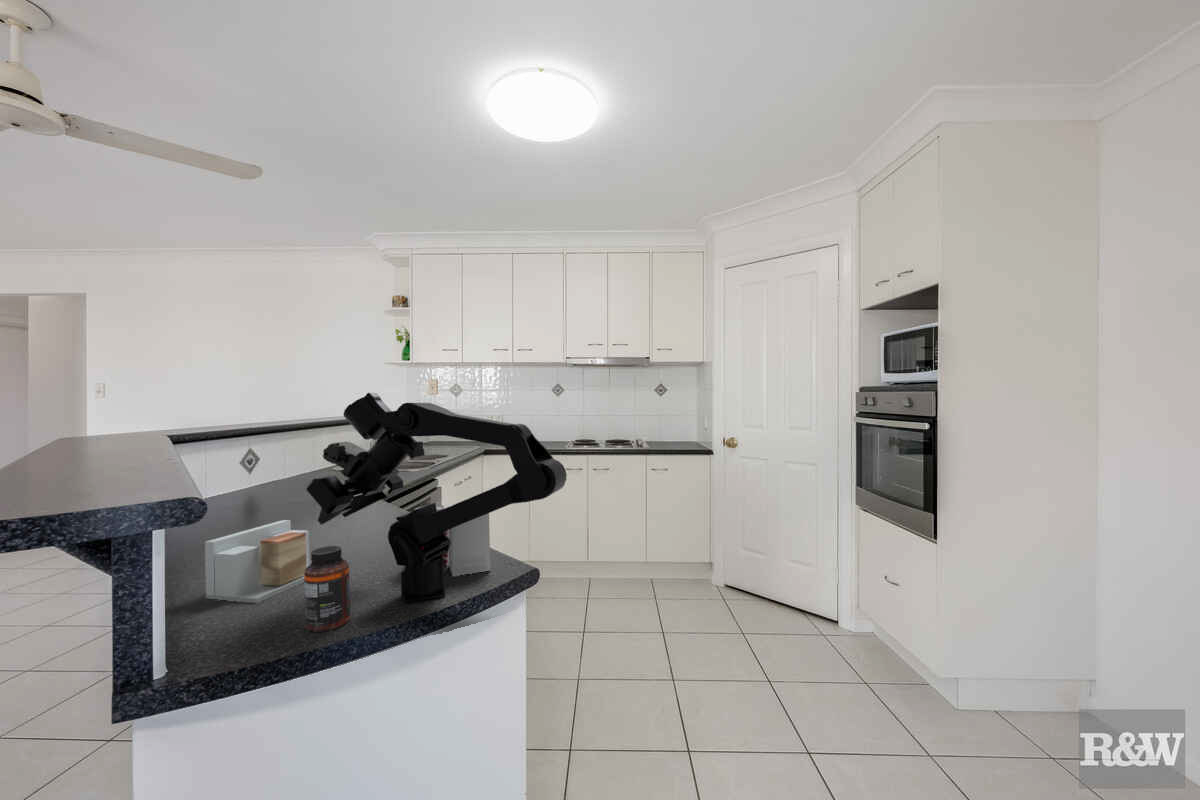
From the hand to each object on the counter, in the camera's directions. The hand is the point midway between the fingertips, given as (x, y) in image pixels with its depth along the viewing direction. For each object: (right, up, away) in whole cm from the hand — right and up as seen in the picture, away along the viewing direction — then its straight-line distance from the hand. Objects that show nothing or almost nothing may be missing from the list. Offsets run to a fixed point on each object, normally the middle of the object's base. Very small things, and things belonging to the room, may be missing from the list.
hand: (332, 518), depth 88 cm
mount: (-13, -13, +3) cm, 18 cm away
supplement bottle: (+8, -12, -15) cm, 21 cm away
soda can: (+14, -13, +11) cm, 22 cm away
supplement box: (+23, -12, +9) cm, 27 cm away
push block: (-10, -12, +2) cm, 16 cm away
